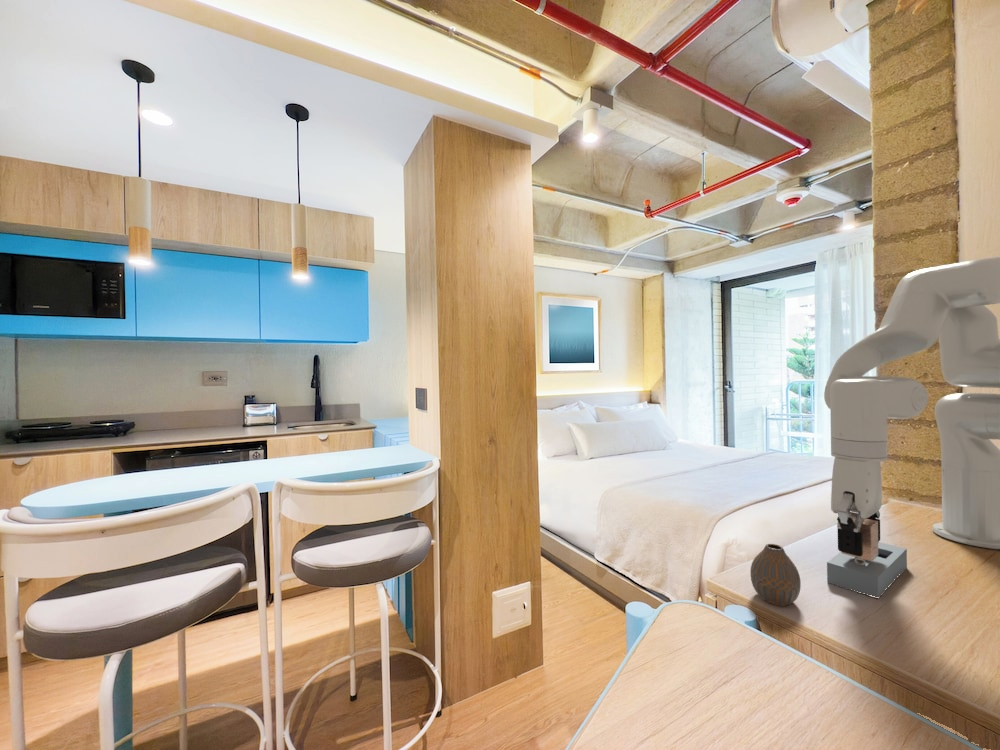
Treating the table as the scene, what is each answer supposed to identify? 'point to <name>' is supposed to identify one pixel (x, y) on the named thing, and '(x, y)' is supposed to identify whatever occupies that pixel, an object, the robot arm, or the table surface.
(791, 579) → the vase
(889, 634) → the table surface
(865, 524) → the key
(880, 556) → the keyhole plate
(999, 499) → the robot arm
